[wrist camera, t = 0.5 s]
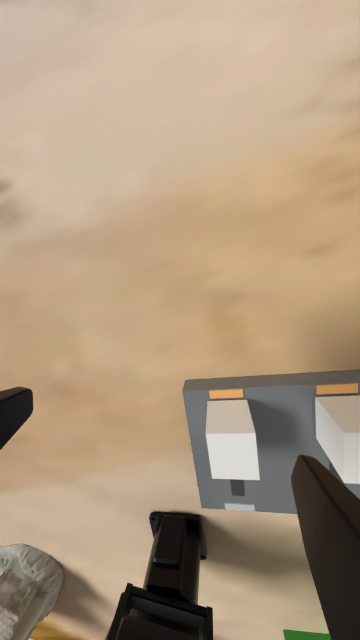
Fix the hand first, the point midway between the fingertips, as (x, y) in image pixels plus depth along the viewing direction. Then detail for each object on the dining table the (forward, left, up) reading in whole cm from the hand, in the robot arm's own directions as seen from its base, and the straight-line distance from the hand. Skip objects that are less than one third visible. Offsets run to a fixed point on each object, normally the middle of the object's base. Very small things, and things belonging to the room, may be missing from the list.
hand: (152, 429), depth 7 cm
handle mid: (-9, -11, -11) cm, 18 cm away
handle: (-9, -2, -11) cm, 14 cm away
